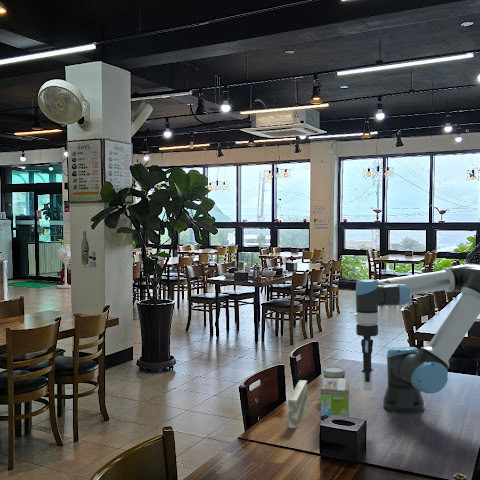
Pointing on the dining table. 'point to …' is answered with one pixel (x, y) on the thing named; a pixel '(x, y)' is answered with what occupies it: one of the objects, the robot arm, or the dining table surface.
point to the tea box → (334, 397)
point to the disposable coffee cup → (334, 372)
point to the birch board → (297, 404)
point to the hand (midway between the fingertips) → (367, 389)
